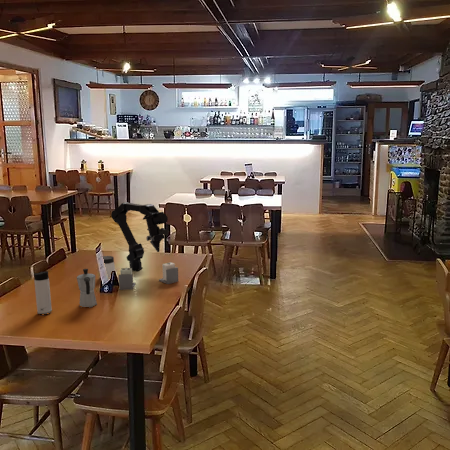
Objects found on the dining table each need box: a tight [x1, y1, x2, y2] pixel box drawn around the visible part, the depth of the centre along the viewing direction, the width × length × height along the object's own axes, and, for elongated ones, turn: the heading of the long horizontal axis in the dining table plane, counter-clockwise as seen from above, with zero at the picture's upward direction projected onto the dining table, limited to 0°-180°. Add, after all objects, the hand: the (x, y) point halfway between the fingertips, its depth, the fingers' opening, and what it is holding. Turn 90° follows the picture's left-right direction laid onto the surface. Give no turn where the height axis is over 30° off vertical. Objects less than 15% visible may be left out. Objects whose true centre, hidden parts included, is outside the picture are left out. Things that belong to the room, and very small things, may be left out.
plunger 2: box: [162, 261, 176, 281], centre depth 264 cm, size 4×6×9 cm
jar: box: [102, 255, 116, 277], centre depth 273 cm, size 9×8×12 cm
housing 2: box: [158, 266, 179, 285], centre depth 265 cm, size 8×7×8 cm
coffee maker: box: [76, 268, 98, 308], centre depth 228 cm, size 15×9×18 cm, turn 21°
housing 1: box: [118, 273, 136, 291], centre depth 256 cm, size 8×7×8 cm
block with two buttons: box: [119, 267, 133, 275], centre depth 255 cm, size 4×6×9 cm
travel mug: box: [33, 270, 53, 315], centre depth 219 cm, size 6×7×20 cm
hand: (158, 251), depth 277 cm, fingers closed
